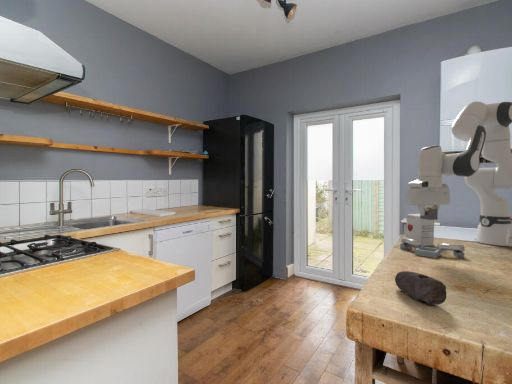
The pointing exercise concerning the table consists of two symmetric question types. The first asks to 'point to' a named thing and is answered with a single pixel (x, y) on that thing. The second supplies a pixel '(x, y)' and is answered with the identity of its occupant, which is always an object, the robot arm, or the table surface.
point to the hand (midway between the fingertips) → (428, 215)
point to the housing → (427, 252)
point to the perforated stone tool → (421, 287)
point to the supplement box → (420, 229)
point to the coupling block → (430, 213)
